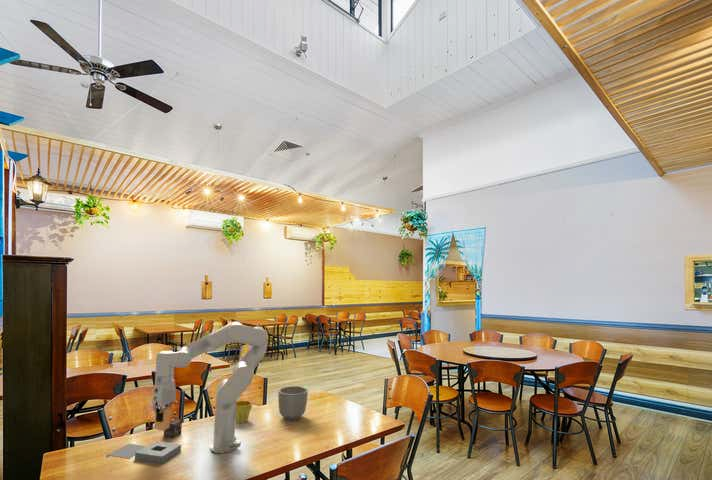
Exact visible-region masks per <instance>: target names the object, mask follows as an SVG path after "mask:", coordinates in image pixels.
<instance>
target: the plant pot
mask: <svg viewBox="0 0 712 480" xmlns="http://www.w3.org/2000/svg"><path fill="white" fill-rule="evenodd" d="M252 407H253V402H251V401H250V400H237V401H236V417H235V423H237V424H243V423H247V422H248V420H249V416H250V413H251V410H252Z"/></svg>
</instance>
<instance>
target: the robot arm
mask: <svg viewBox="0 0 712 480" xmlns="http://www.w3.org/2000/svg"><path fill="white" fill-rule="evenodd" d="M268 340H269V334H268V331H266V330H265V329H264V328H263V327H262V326H254V327H253V326H248V325H245V324H243V323H242V322H240V321H231V322H230V323H228V324H226V325H224V326H222V327H221V328H219V329H217V330H214V331H213V332H210V333H208V334H206V335H204V336H203V337H201V338H198V339H196V340H194V341H192V342H190V343H188V344H186V345H184V346H182V347H180V348H179V349H178V350H177V351H175V352H174V351H173V350H162V351H158V352H157V354H156V358H155V375H154V377H155V380H154V385H153V391H152V399H151V400H152V402H151V403H152V406H151V410H152V411H154V413H155V416H156V422H162V421H163V412H162V410H163V406H165V407H171V408H172V404H173V403H174V402H175V400H176V399H177V398H176V396H177V395H176V389H177V388H176V381H175V379H174V378H175V377H174V372H175V368H186V367H187V366H189V365H190V364H191V363H192V360H193V359H195V358H196V357H199V356H200V355H202V354H206V353H208V352H214V351H217V350H219V349H221V348H222V347H224V346H226V345H228V344H230V343H232V342H236V343H239V344H243V345H249V347H248V349H247V350H246V352H245V353H244V355H243V356H242V357H241V358H240V359H239V360H238V362H237V363H236V364H235V365H234V367H233V368H232V374H231V375H230V377H229V378H225V379H222V380H221V381H219V383H218V384H217V386H216V390H215V391H216V392H215V411H214V412H215V414H214V426H213V427H214V428H213V429H214V430H213V440H212V441H213V442H212V443H210V445H209V451H211V452H212V453H214V454H225V453H230V452H232V451H234V450H236V449H237V447H238V448H240V447H241V443H242V440H240V439H239V440H238V439H237V436H236V435H235V433H236V432H235V430H236V421H235V417H236V402H237V401H238V399H240V397H241V396H242V395H243V393H244V392H245V391H246V390H247V388H248V387H249V385H250V384H251V383H252V381H253V379H254V376H255V372H254V371H255V369H256V368H257V366H258V365H259V364H260V362H261V361H262V360H263V358H264V356H265V354H266V353H267V348H268ZM159 407H160V409H159Z"/></svg>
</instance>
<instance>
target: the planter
mask: <svg viewBox="0 0 712 480" xmlns="http://www.w3.org/2000/svg"><path fill="white" fill-rule="evenodd" d="M308 395H309V391H308V389H307V388H306V387H304V386H300V385H299V386H298V385H291V386H283V387H280V389H278V394H277V396H278V397H277V398H278V399H277V401H278V411H279V414H280V415H281V416H282V417H283V418H284V420H285V419H286V420H285V421H287V420H289V421H288V422H295V421H299V420H300V418H301V417H302V416H303V415H304V414H305V412H306V409H307V404H308V402H307V401H308ZM294 420H295V421H294Z"/></svg>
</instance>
